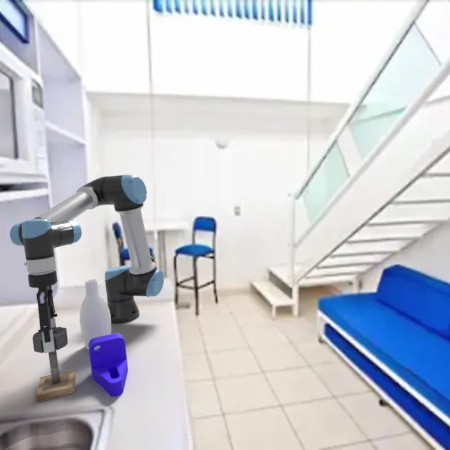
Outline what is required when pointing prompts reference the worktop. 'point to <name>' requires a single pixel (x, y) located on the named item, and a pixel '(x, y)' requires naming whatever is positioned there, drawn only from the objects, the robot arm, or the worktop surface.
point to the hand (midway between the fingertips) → (51, 345)
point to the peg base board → (55, 381)
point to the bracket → (109, 363)
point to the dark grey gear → (58, 338)
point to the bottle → (94, 314)
